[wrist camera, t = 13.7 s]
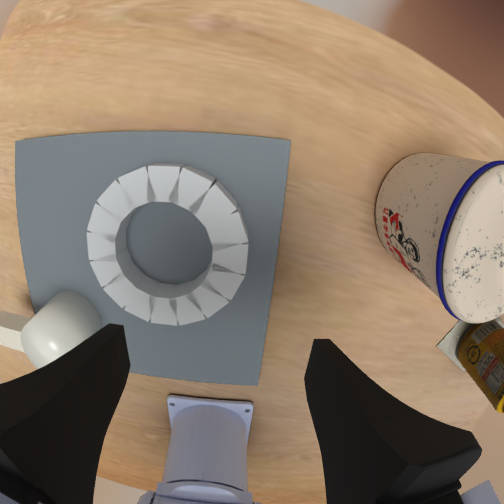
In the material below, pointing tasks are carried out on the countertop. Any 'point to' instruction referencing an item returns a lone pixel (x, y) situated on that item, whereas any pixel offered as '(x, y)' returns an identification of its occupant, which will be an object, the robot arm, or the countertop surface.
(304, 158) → the countertop surface
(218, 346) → the stand
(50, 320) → the cream post on cylinder
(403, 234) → the teacup with lid
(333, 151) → the countertop surface
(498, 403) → the condiment
